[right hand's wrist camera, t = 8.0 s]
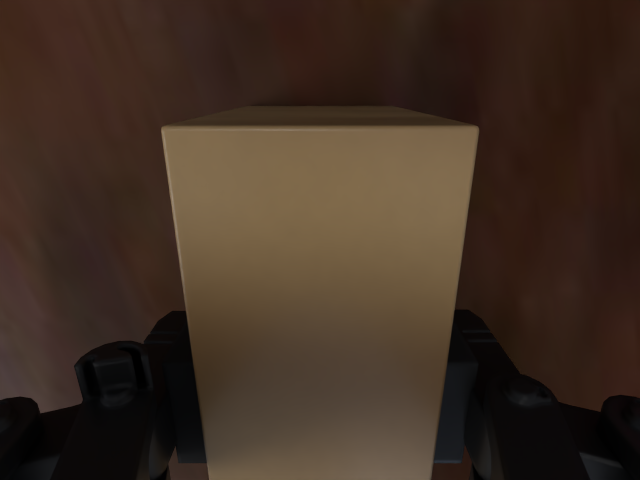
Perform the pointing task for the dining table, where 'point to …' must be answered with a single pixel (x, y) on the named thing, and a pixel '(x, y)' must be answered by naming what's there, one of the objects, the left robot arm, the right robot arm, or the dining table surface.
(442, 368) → the post
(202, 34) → the dining table surface
